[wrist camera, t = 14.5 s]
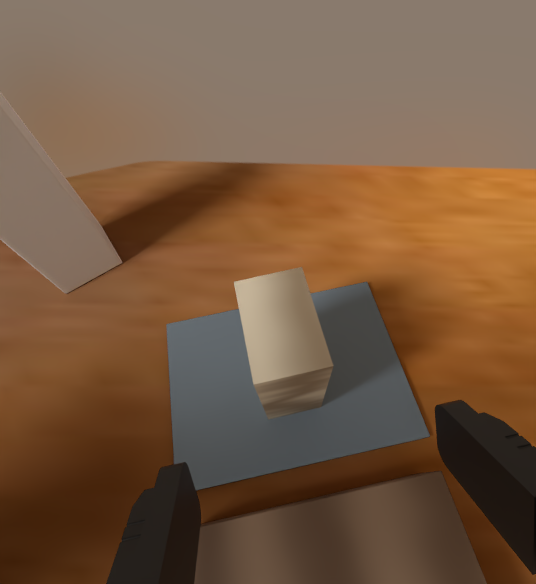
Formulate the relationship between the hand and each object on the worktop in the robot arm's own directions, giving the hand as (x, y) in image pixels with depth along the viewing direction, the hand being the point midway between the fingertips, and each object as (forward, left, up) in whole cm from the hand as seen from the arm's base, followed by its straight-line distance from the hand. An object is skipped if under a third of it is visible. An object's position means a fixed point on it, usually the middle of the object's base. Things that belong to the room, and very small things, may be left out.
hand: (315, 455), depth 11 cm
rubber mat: (0, +7, -15) cm, 16 cm away
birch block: (0, +7, -15) cm, 16 cm away
